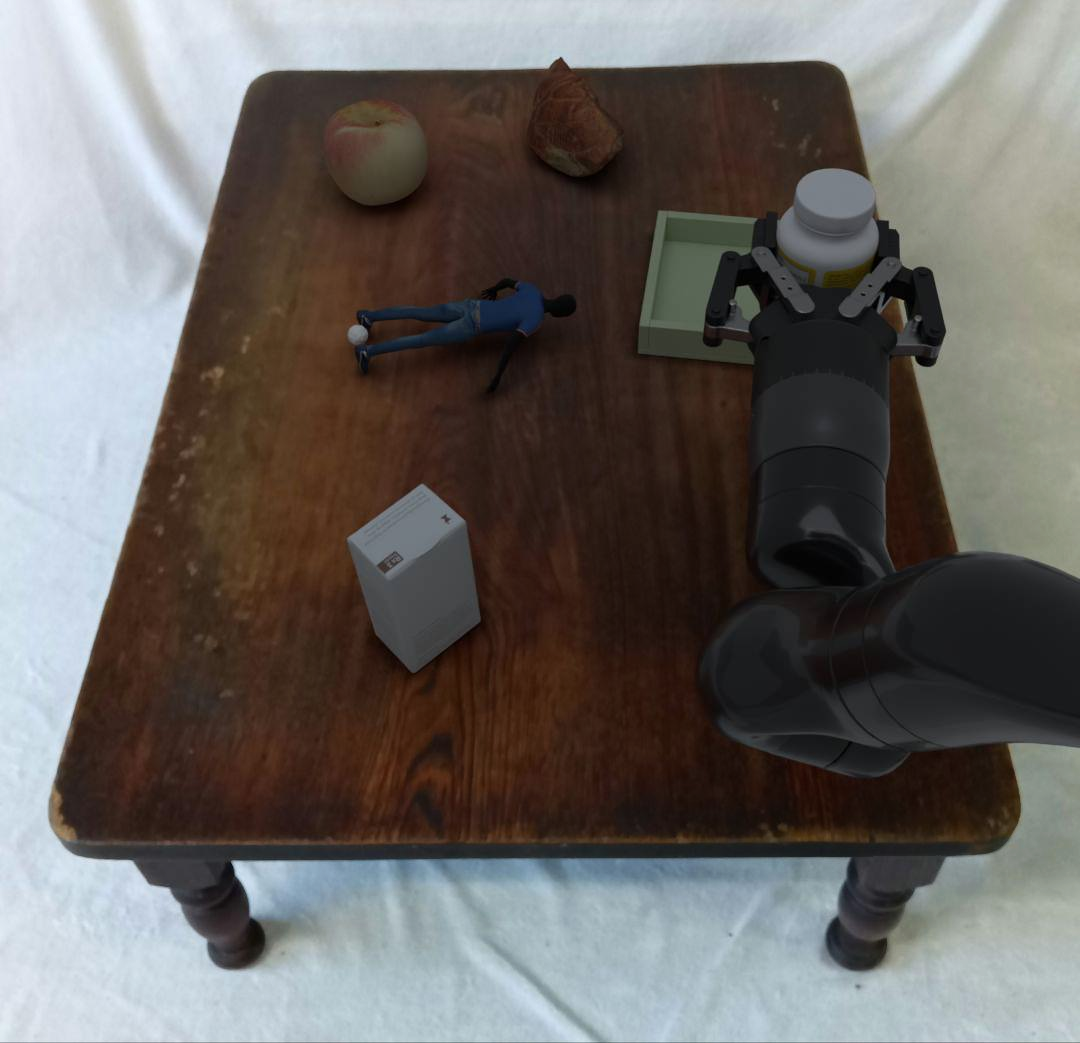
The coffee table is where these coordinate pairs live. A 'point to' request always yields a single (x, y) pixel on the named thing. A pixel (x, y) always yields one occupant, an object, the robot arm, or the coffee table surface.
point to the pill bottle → (829, 230)
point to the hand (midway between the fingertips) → (824, 226)
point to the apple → (375, 151)
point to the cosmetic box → (417, 576)
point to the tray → (692, 285)
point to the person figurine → (465, 322)
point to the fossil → (571, 124)
